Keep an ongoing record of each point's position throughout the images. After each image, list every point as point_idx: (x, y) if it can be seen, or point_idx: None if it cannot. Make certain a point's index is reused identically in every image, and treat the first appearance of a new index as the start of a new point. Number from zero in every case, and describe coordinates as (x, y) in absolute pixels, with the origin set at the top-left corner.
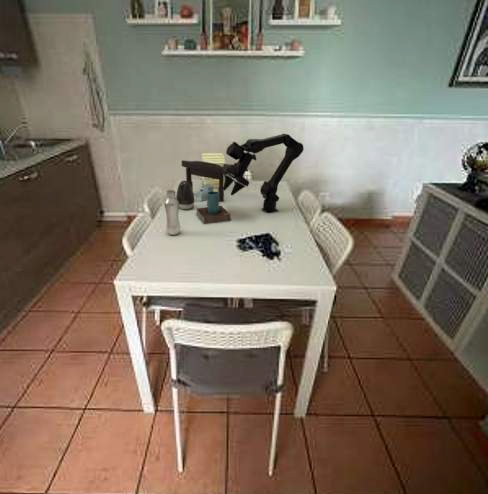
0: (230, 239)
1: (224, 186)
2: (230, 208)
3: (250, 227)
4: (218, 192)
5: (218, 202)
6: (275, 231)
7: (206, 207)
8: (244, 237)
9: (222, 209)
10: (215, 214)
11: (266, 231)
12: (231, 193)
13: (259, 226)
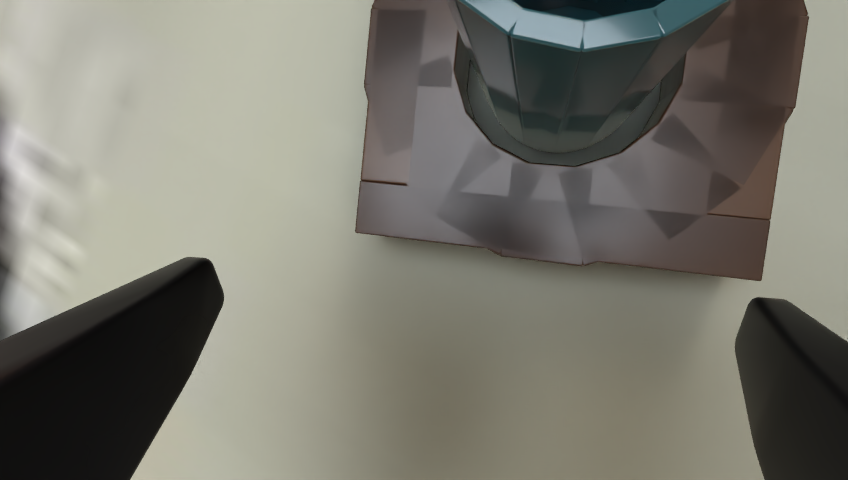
0: (15, 33)
1: (808, 370)
2: None
3: None
4: (578, 39)
5: (479, 69)
6: None
7: (793, 12)
8: (8, 164)
9: (585, 219)
10: (441, 42)
11: None
12: (156, 274)
13: None
